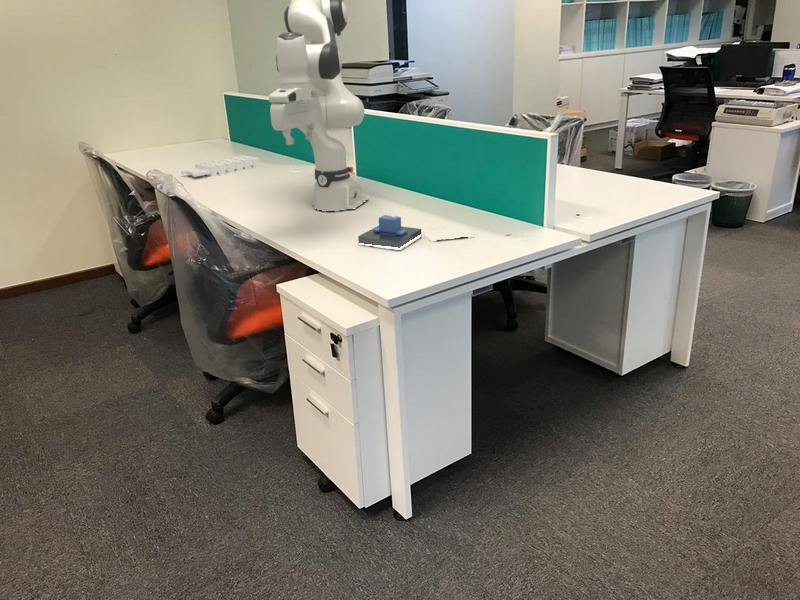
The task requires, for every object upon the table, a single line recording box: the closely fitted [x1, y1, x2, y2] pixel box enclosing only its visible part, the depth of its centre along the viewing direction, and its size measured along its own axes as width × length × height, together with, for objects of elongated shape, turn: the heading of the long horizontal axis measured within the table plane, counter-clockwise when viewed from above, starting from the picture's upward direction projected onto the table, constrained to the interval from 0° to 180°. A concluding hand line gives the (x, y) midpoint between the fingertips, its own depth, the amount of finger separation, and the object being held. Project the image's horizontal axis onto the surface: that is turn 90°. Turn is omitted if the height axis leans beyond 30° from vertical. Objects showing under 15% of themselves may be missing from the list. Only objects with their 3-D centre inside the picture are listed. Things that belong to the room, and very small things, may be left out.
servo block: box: [372, 214, 408, 236], centre depth 188 cm, size 4×10×8 cm, turn 61°
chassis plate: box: [357, 225, 422, 248], centre depth 189 cm, size 14×14×3 cm
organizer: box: [180, 154, 261, 178], centre depth 294 cm, size 13×5×35 cm
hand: (300, 142), depth 187 cm, fingers open, 8 cm apart
